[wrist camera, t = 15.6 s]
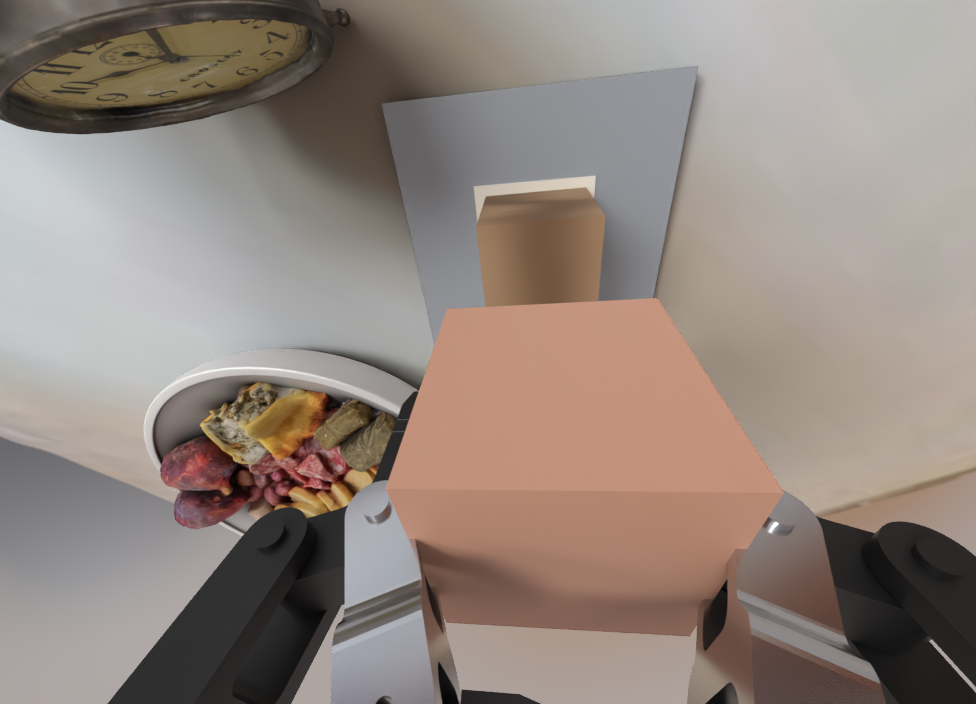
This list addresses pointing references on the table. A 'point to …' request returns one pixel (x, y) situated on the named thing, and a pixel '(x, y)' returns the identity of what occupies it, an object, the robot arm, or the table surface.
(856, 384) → the table surface
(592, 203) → the walnut block
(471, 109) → the grey square plate
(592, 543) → the terracotta block
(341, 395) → the bowl
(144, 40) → the alarm clock
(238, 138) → the table surface
